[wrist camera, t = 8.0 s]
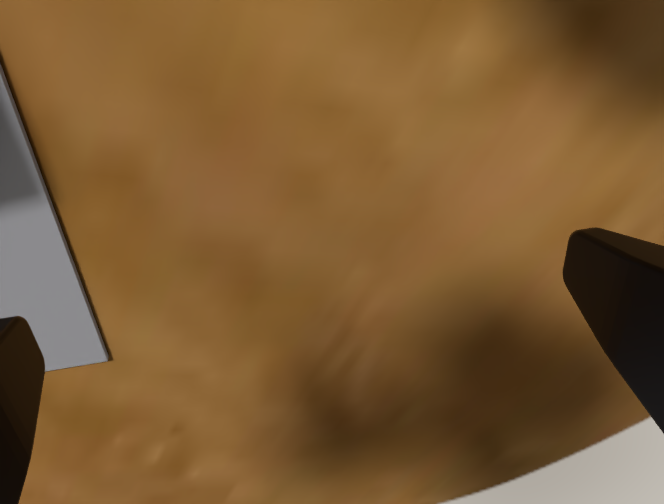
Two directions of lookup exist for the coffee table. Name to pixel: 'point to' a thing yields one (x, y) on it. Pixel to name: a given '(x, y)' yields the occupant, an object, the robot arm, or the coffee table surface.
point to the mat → (39, 255)
